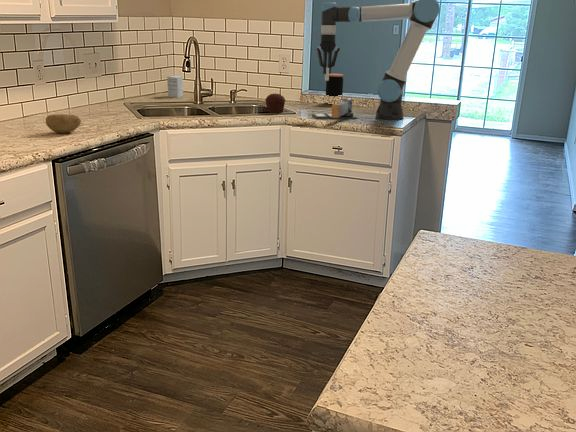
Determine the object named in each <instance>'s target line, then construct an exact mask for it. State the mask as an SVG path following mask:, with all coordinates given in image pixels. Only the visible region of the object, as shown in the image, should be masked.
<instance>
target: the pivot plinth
mask: <svg viewBox="0 0 576 432" xmlns="http://www.w3.org/2000/svg"><path fill="white" fill-rule="evenodd" d="M340 118H341V119H340V120H353V119H354V120H358V117H357V116H355V115H354V112H351V113H347V114H344V115H342V116H340Z"/></svg>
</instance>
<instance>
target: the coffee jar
mask: <svg viewBox="0 0 576 432" xmlns="http://www.w3.org/2000/svg"><path fill="white" fill-rule="evenodd" d="M343 90H344V74H342V73H331V74H329V81H326V80H325V94H326V95H329V96H338V95H342V96H343V92H344V91H343Z"/></svg>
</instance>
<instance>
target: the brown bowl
mask: <svg viewBox="0 0 576 432" xmlns="http://www.w3.org/2000/svg"><path fill="white" fill-rule="evenodd" d="M81 122H82V120H81V118H80V117H79V116H78V115H75V114H66V113H65V114H63V113H62V114H60V113H59V114H48V116H46V118H45V124H46V126H47V127H48V129H49V130H51V131H52V132H54V133H58V134H68V133H71V132H74V131H75V130H77V129H78V128H79V127H80V126H81Z"/></svg>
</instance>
